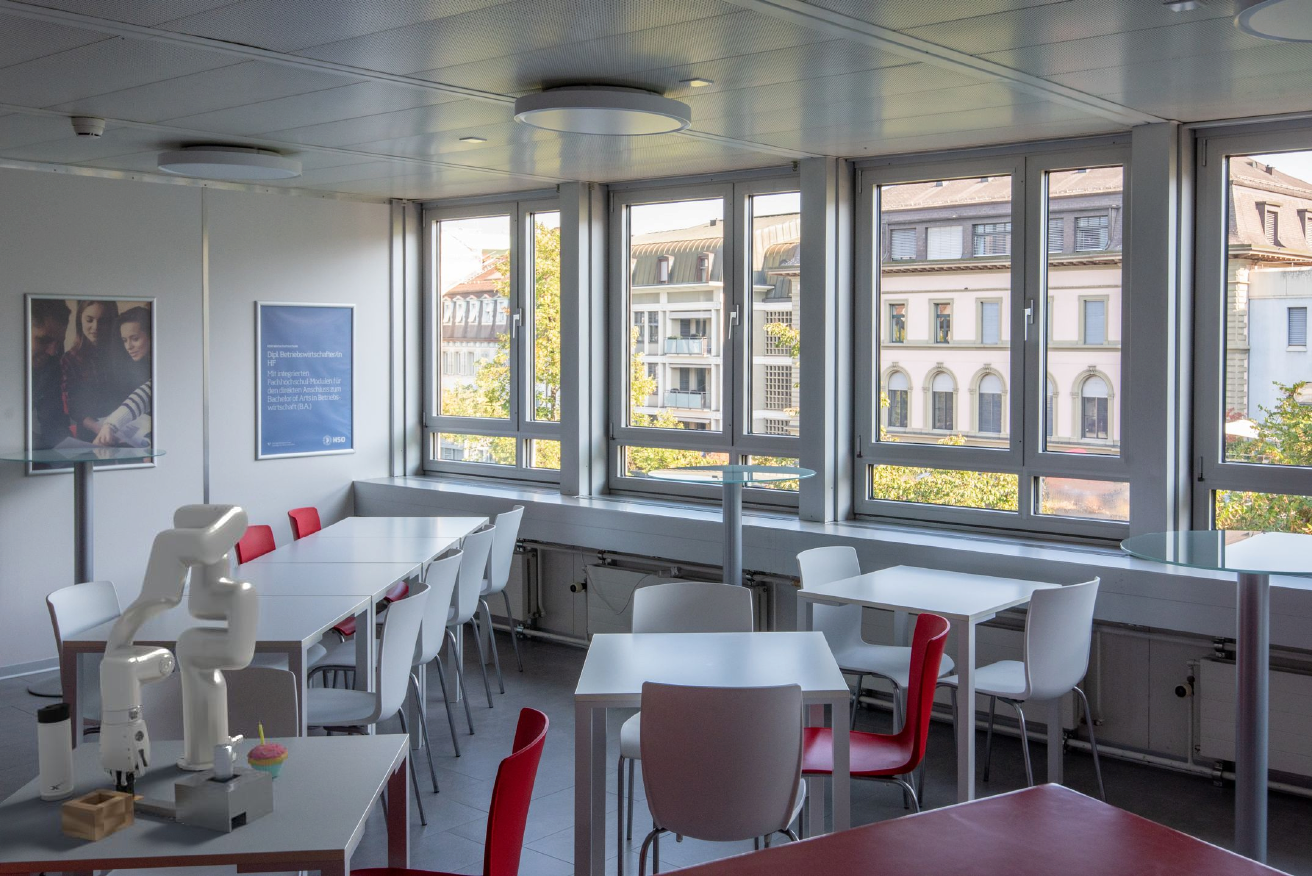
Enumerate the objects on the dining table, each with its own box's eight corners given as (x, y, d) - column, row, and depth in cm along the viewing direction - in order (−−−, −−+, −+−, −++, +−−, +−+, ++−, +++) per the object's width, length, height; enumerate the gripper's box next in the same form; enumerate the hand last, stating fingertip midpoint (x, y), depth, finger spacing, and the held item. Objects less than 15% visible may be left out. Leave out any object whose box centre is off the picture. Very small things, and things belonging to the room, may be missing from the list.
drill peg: (224, 795, 228) (222, 742, 228) (238, 798, 227) (236, 744, 226) (211, 801, 225) (209, 748, 225) (224, 804, 224) (222, 750, 223)
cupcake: (239, 779, 248) (237, 726, 247) (266, 767, 255) (264, 715, 255) (270, 784, 244) (268, 730, 244) (296, 771, 252) (294, 719, 252)
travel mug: (61, 802, 236) (56, 708, 235) (33, 800, 237) (29, 707, 236) (81, 791, 242) (77, 700, 241) (55, 789, 243) (51, 699, 242)
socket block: (221, 801, 234) (219, 764, 234) (273, 810, 229) (271, 772, 229) (176, 822, 223) (174, 783, 223) (229, 832, 218) (228, 792, 218)
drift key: (137, 805, 233) (137, 795, 233) (195, 815, 227) (195, 805, 227) (125, 810, 230) (124, 800, 230) (183, 821, 224) (182, 811, 224)
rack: (101, 817, 227) (100, 788, 227) (134, 823, 223) (132, 794, 223) (62, 834, 219) (61, 804, 218) (95, 841, 215) (94, 810, 215)
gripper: (162, 713, 232) (166, 800, 233) (111, 706, 238) (115, 791, 239) (132, 724, 225) (136, 813, 226) (80, 716, 231) (84, 803, 232)
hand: (125, 801), depth 232 cm, fingers closed
